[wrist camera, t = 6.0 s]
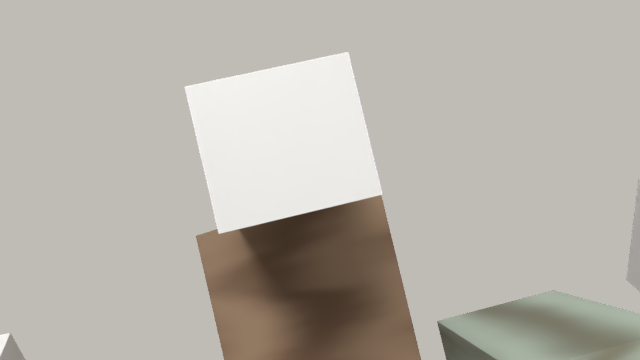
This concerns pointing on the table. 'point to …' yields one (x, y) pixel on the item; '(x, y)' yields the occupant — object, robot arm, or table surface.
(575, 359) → the wooden boards
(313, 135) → the white block
